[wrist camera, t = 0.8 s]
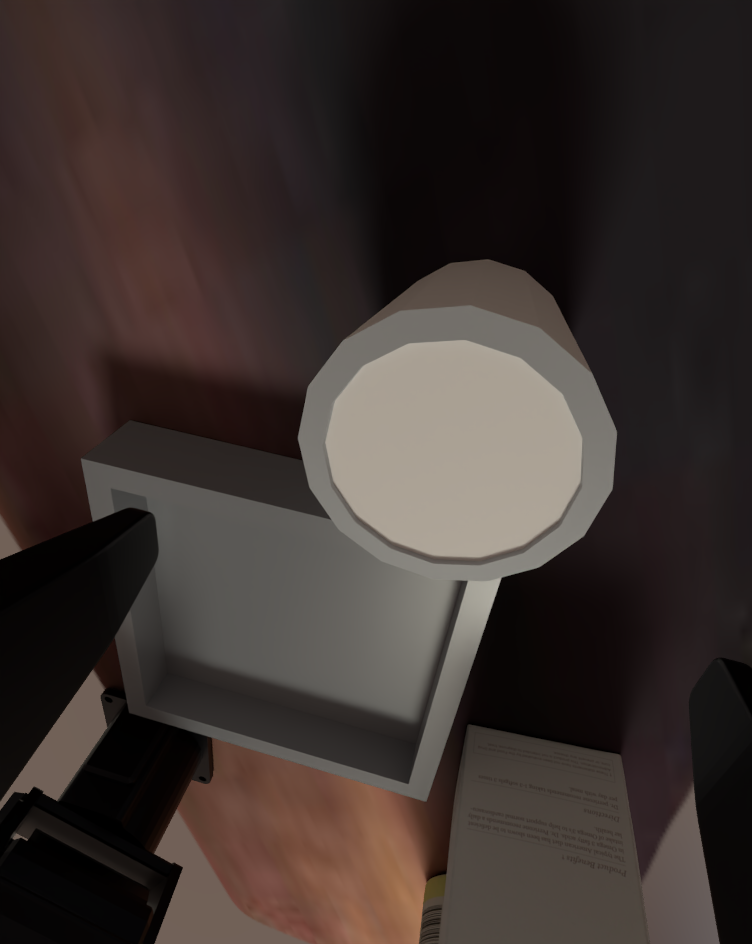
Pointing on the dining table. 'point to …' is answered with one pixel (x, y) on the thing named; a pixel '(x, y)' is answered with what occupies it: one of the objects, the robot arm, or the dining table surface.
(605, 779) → the supplement box
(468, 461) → the white cup
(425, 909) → the tube
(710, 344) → the dining table surface
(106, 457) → the tray
